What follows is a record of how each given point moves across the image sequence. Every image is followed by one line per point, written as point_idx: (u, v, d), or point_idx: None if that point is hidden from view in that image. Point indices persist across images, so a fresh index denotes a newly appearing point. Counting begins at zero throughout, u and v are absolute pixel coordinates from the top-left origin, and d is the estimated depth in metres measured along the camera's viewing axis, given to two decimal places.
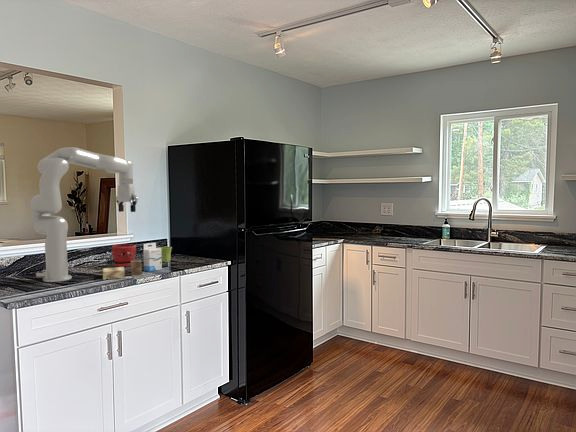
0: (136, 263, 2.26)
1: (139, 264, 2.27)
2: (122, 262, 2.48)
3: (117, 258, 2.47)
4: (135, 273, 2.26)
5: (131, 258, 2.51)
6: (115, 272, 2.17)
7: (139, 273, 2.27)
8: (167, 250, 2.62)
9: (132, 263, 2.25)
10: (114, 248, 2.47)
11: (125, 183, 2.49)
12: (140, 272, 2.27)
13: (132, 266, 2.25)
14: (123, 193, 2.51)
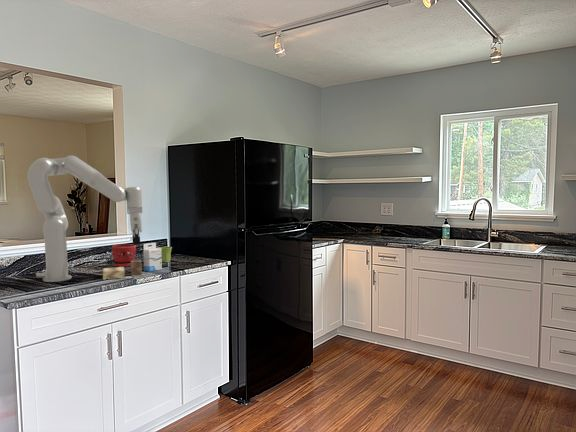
0: (136, 263, 2.26)
1: (139, 264, 2.27)
2: (122, 262, 2.48)
3: (117, 258, 2.47)
4: (135, 273, 2.26)
5: (131, 258, 2.51)
6: (115, 272, 2.17)
7: (139, 273, 2.27)
8: (167, 250, 2.62)
9: (132, 263, 2.25)
10: (114, 248, 2.47)
11: None
12: (140, 272, 2.27)
13: (132, 266, 2.25)
14: None
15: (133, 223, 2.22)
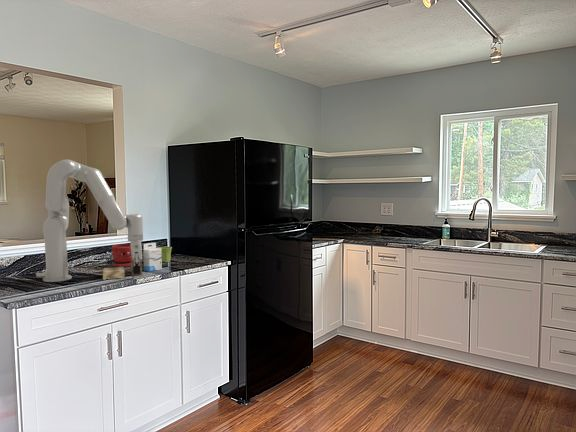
0: None
1: None
2: (122, 262, 2.48)
3: (117, 258, 2.47)
4: None
5: (131, 258, 2.51)
6: (115, 272, 2.17)
7: (139, 273, 2.27)
8: (167, 250, 2.62)
9: (132, 263, 2.25)
10: (114, 248, 2.47)
11: None
12: (140, 272, 2.27)
13: (132, 266, 2.25)
14: None
15: (133, 251, 2.23)
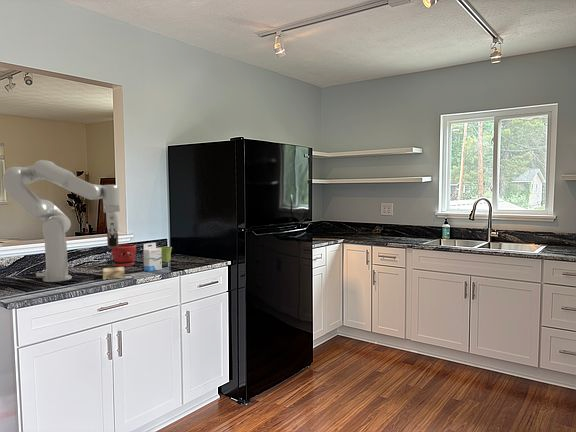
0: None
1: None
2: (122, 262, 2.48)
3: (117, 258, 2.47)
4: None
5: (131, 258, 2.51)
6: (115, 272, 2.17)
7: None
8: (167, 250, 2.62)
9: (108, 235, 2.17)
10: (114, 248, 2.47)
11: None
12: (117, 244, 2.19)
13: (108, 238, 2.17)
14: None
15: (109, 222, 2.15)
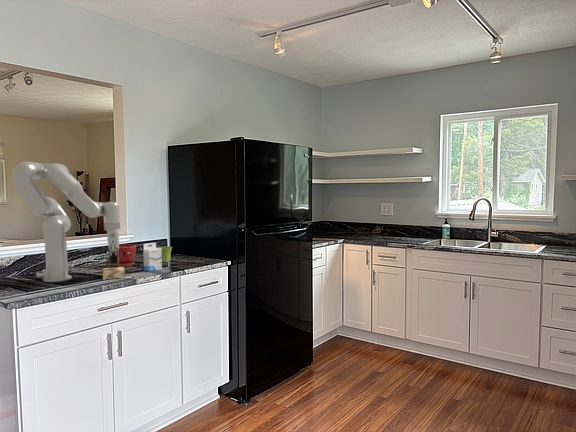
0: None
1: (116, 253, 2.19)
2: (122, 262, 2.48)
3: None
4: None
5: (131, 258, 2.51)
6: (115, 272, 2.17)
7: (116, 263, 2.20)
8: (167, 250, 2.62)
9: (109, 252, 2.18)
10: None
11: None
12: (117, 262, 2.20)
13: (109, 255, 2.18)
14: None
15: (110, 240, 2.15)
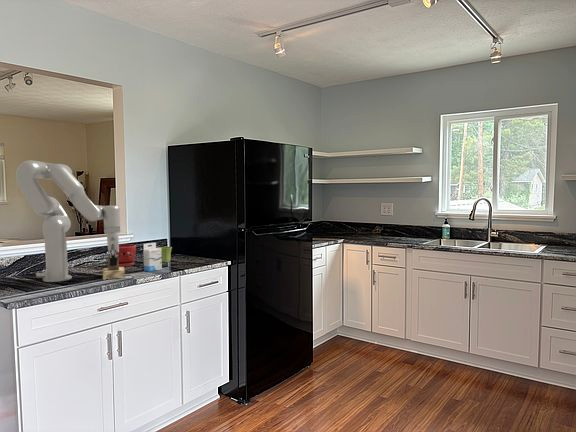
0: None
1: None
2: (122, 262, 2.48)
3: None
4: (112, 268, 2.19)
5: (131, 258, 2.51)
6: (115, 272, 2.17)
7: (116, 268, 2.20)
8: (167, 250, 2.62)
9: (109, 258, 2.18)
10: None
11: None
12: (117, 267, 2.20)
13: (109, 261, 2.18)
14: None
15: (110, 243, 2.16)
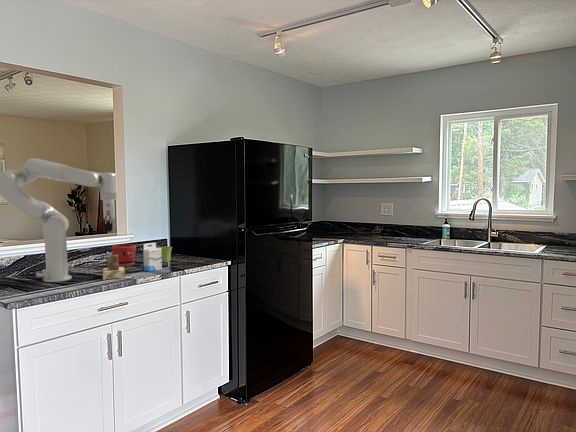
0: (113, 258, 2.19)
1: (116, 259, 2.19)
2: (122, 262, 2.48)
3: None
4: (112, 268, 2.19)
5: (131, 258, 2.51)
6: (115, 272, 2.17)
7: (116, 268, 2.20)
8: (167, 250, 2.62)
9: (109, 258, 2.18)
10: (114, 248, 2.47)
11: None
12: (117, 267, 2.20)
13: (109, 261, 2.18)
14: (114, 209, 2.23)
15: (105, 209, 2.16)
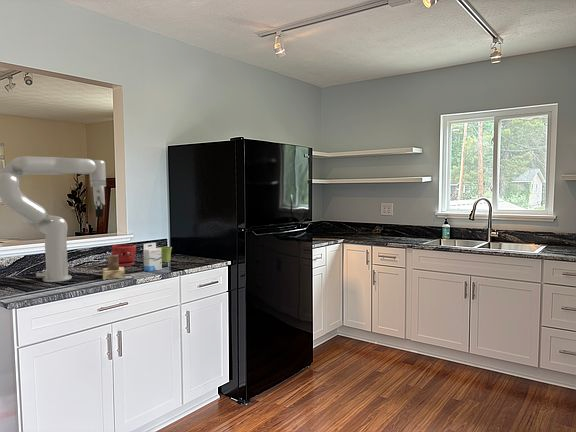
0: (113, 258, 2.19)
1: (116, 259, 2.19)
2: (122, 262, 2.48)
3: None
4: (112, 268, 2.19)
5: (131, 258, 2.51)
6: (115, 272, 2.17)
7: (116, 268, 2.20)
8: (167, 250, 2.62)
9: (109, 258, 2.18)
10: (114, 248, 2.47)
11: None
12: (117, 267, 2.20)
13: (109, 261, 2.18)
14: (104, 195, 2.32)
15: (96, 195, 2.26)
